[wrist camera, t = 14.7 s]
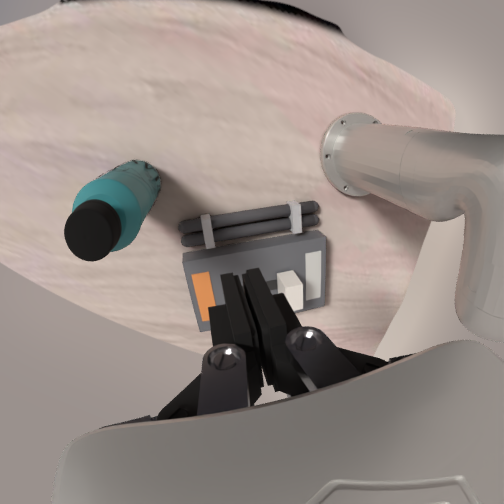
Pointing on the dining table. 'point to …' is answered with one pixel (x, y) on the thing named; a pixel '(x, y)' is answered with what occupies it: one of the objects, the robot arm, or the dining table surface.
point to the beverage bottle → (111, 210)
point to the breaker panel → (257, 256)
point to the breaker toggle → (291, 288)
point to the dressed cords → (211, 236)
